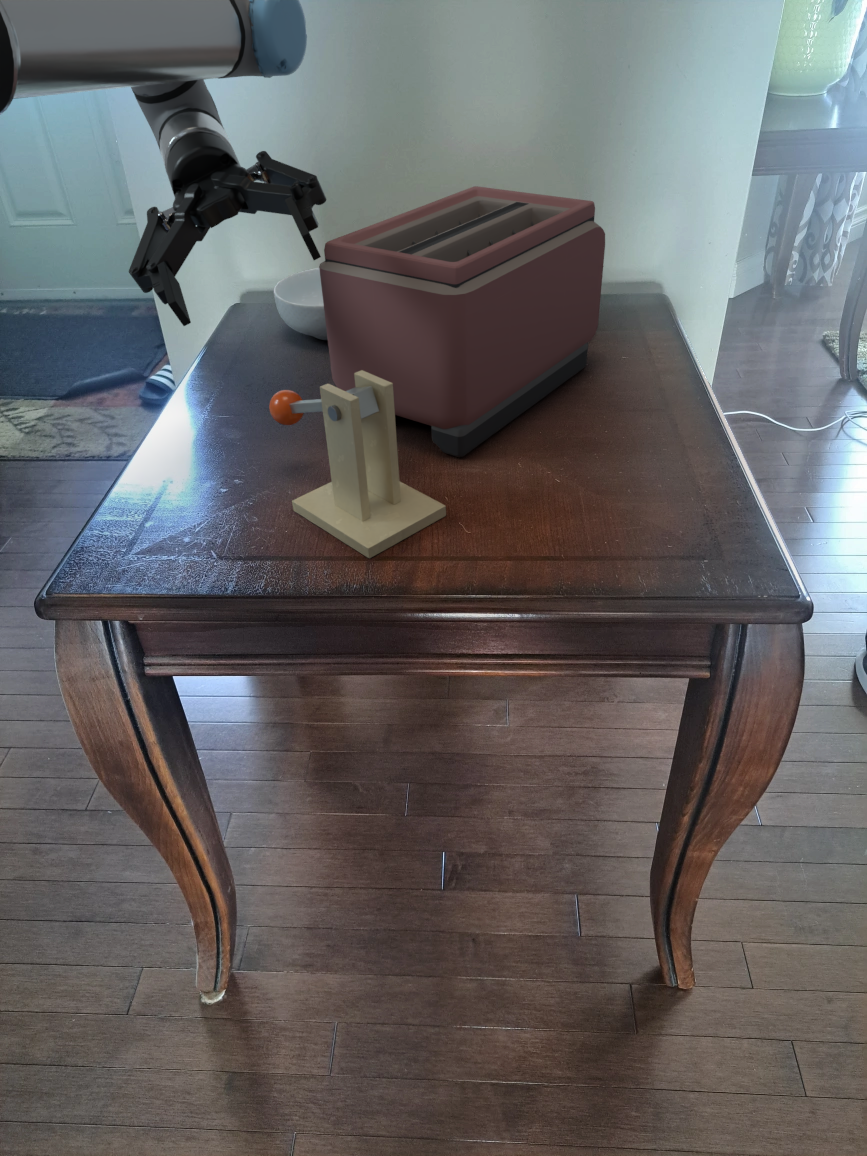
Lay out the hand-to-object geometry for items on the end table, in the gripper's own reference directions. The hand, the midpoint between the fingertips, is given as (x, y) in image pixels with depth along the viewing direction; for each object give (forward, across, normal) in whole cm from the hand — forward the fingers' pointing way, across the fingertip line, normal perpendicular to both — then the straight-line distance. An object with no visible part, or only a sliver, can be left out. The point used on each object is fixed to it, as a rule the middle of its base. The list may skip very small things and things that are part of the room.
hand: (245, 280), depth 76 cm
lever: (+8, 0, -12) cm, 15 cm away
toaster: (-6, -18, -33) cm, 38 cm away
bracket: (+16, 0, -19) cm, 24 cm away
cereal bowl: (-32, -4, -36) cm, 48 cm away
